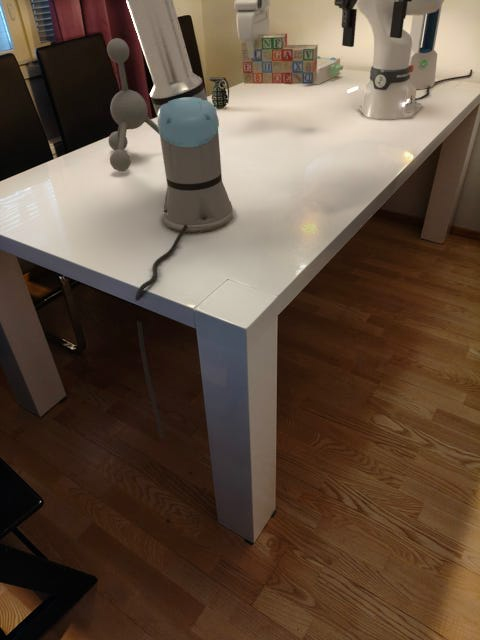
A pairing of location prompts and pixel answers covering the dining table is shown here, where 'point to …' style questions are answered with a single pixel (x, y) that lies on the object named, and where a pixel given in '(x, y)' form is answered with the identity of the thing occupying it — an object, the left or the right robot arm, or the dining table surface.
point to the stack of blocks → (279, 61)
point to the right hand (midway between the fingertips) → (255, 55)
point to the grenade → (219, 92)
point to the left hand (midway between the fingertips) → (372, 41)
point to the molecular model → (124, 109)
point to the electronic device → (424, 49)
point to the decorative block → (327, 69)
